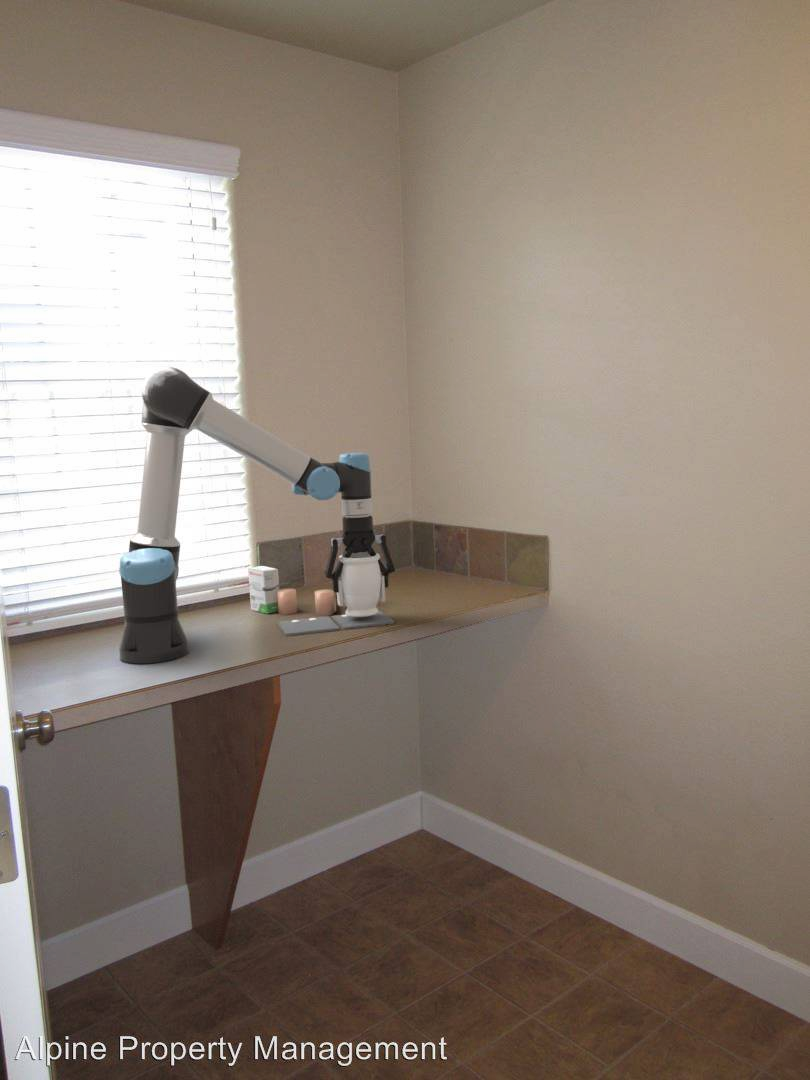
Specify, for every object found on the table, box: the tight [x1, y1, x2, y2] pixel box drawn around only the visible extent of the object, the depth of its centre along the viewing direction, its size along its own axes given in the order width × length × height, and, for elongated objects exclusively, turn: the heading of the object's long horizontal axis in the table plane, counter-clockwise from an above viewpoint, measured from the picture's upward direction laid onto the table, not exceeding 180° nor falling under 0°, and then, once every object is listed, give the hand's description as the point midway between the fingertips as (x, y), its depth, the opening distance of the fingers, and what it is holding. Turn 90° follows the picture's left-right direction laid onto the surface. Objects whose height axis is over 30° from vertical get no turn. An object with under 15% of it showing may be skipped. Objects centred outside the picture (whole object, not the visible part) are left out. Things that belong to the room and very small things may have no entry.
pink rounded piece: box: [314, 588, 336, 617], centre depth 234 cm, size 5×5×6 cm
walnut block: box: [334, 593, 347, 615], centre depth 234 cm, size 5×5×5 cm
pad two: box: [277, 616, 340, 637], centre depth 220 cm, size 13×13×1 cm
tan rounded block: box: [277, 588, 298, 616], centre depth 237 cm, size 5×5×6 cm
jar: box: [338, 552, 382, 617], centre depth 223 cm, size 11×10×15 cm
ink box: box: [247, 565, 280, 615], centre depth 240 cm, size 9×5×12 cm, turn 39°
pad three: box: [331, 610, 395, 630], centre depth 224 cm, size 13×13×1 cm
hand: (361, 602), depth 224 cm, fingers closed on jar, 10 cm apart
